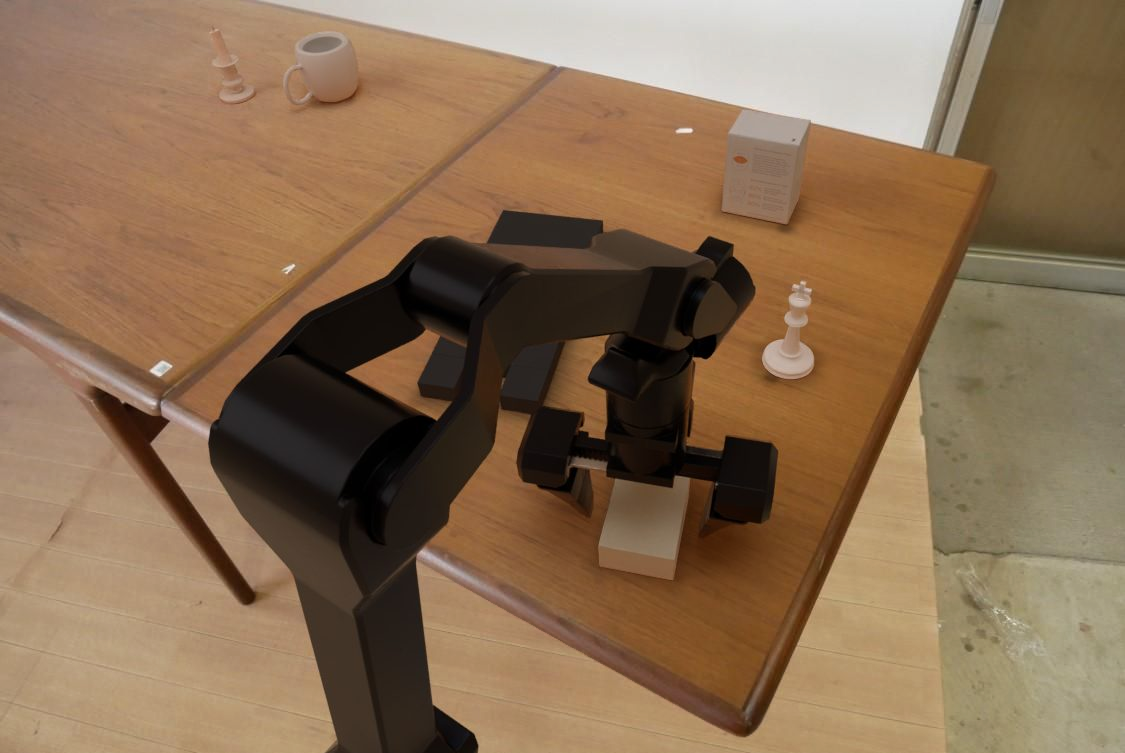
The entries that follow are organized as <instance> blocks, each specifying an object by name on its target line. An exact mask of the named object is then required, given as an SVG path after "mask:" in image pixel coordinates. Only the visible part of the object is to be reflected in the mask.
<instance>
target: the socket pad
mask: <svg viewBox="0 0 1125 753" xmlns="http://www.w3.org/2000/svg"><path fill="white" fill-rule="evenodd" d="M602 233H604V220H602V219H594V218H584V217H575V216H574V217H573V216H567V215H566V216H565V215H554V214H545V213H536V212H528V211H527V212H526V211H517V210H509V209H503V210H502V211H501V213H500V215H499V217H498V219H497V222H496V223H495V225H494V227H493V229H492V231H491V233H490V235H489V237H488V239H487V241H486V243H488V244H505V245H522V246H539V247H556V248H574V249H586V248H589V247H590V244H591V240H592V238H593V237H594V236H596V235H598V234H602ZM565 344H566V341H562V342H555V343H548V344H541V345H534V346H527V347H524V348H523V349H522V351H521V352H520V353H519V354H518V356H517V357H516V358H515V359H514V361H513V362H512V363H511V364H510V366H509V367H508V368H507V369H506V371H505V372H504V374H503V378H505V379H504V381H503V383H502V386H501V395H500V403H499V406H500V409H501V410H506V411H511V412H517V413H518V412H520V413H523V414H529V415H531V414H532V412H533V411H534V410H536V409H537V408H538V407H540V406H544V403H545V400H546V398H547V394H548V392H549V389H550V387H551V384H552V381H553V378H554V375H555V373H556V370H557V366H558V364H559V361H560V358H561V355H562V352H563V349H564V347H565ZM465 354H466V347H463V346H461V345H459V344H457V343H455V342H453V341H450V340H448V339H446V338H444V337H442V336H440V335H439V338H438V340H437V342H436V344H435V345H434V347H433V350H432V352H431V354H430V356H429V357H428V360H427V362H426V364H425V366H424V368H423V369H422V372H421V374H420V376H419V377H418V380H417V387H418V390H419V394H420V397H424V398H430V399H435V400H443V401H450V402H452V401H453V400H454V399H455V398H456V397H457V395H458V394H459V392H460V387H461V381H462V374H463V367H464V361H465Z"/></svg>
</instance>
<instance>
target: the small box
mask: <svg viewBox="0 0 1125 753" xmlns="http://www.w3.org/2000/svg"><path fill="white" fill-rule="evenodd" d="M811 124H812V121H811V119H806V118H800V117H794V116H788V115H781V114H776V113H768V112H763V111H757V110H751V109H744V108H742V110H741V111H740V113H739V114H738V116H737V118H736V119H735V121H734V122H733V124H732V126H731V127H730V129H729V131H728V132H727V137H726V138H727V139H726V148H725V149H726V151H725V152H726V153H725V160H724V161H725V162H724V175H723V187H722V188H723V189H722V200H721V212H724V213H728V214H734V215H737V216H738V215H739V216H743V217H747V218H753V219H758V220H762V221H768V222H772V223H777V224H781V225H788V224H789V222H790V220H791V217H792V216H793V213H794V210H795V208H796V206H797V204H798V201H799V199H800V195H801V189H802V183H803V177H804V169H805V163H806V158H807V151H808V150H807V149H808V145H809V137H810V130H811Z"/></svg>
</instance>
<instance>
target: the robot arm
mask: <svg viewBox="0 0 1125 753" xmlns="http://www.w3.org/2000/svg"><path fill="white" fill-rule="evenodd" d="M734 249H735V244H734V243H732V242H729V241H726V240H723V239H720V238H717V237H713V236H712V235H708V236H706V238H705V239H704V240H703V241H702V243H701V244H700V246H699V247H698V248H697V249H695V250H693V251H689V250H686V249H684V248H680V247H678V246H674V245H671V244H669V243H666V242H664V241H660V240H657V239H655V238H652V237H649V236H646V235H643V234H641V233H637V232H636V231H632V230H630V229H627V228H618V229H614V230H610V231H606V232H603V233H602V234H598V235H596V236H594V237H593V238H592V240H591V244H590V247H589V248H586V249H574V248H556V247H539V246H522V245H505V244H488V243H487V242H485V243H484V242H471V241H468V240H465V239H463V238H460V237H457V236H454V235H445V236H444V235H443V236H441V237H439V236H437V235H433V236H429V237H425V238H423V239H422V240H421V241H420V242H418V243H417V244H415V245H414V246H413V247H412V248H411V249H410V250H409V251H408V252H407V253H406V254H405V256H403V258H402V259H401V260H400V261H399V262H398V263H397V264H396V265H395V266H394V268H392V269H391V271H389V272H388V274H386V275H384V276H383V277H381V278H379V279H377V280H375V281H373V282H370V283H368V284H366V285H364V286H362V287H360V288H357V289H355V290H353V291H351V292H349V293H346V294H344V295H342V296H340V297H338V298H336V299H333V300H332V301H330V302H329V301H328V302H327V303H324V304H322V305H321V306H319V307H316V308H313V309H312V310H310V311H309V312H308V313H305V314H304V315H303V316H301V318H300V319H299V320H298V321H296V323H294V325H293V326H292V327H291V328H290V329H288V331H287V332H286V333H285V334H284V335H283V336H282V337H281V338H280V339H279V340H278V341H277V342H276V343H275V344H274V345H273V347H271V348H270V350H269V351H267V353H266V354H264V355H263V357H262V358H261V359H260V360H259V361H258V362H257V363H255V365H254V366H253V367H252V368H251V369H250V370H249V371H248V372H247V373H246V374H245V376H243V377H242V378H241V380H239V382H237V383H236V385H235V386H234V387H233V389H232V390H231V391H230V393H229V394H228V396H227V397H226V398H225V399H224V401H223V404H222V407H221V410H220V413H219V415H218V418H217V419H215V420H214V421H213V422H212V423H211V425H210V427H209V434H208V441H207V446H208V455H209V463H210V465H211V467H212V470H213V473H214V475H216V477H217V479H218V480H219V482H220V484H221V485H222V487H223V488H224V490H225V492H226V493H227V495H228V497H229V498H230V499H231V501H232V503H233V504H234V506H235V508H236V509H237V511H238V513H239V514H240V515H241V517H242V518H243V519H244V520H245V522H246V523H247V524H248V525H249V526H250V527H251V528H252V530H254V531H255V533H256V534H257V535H258V536H259V537H260V538H261V539H262V540H263V542H265V544H266V545H267V546H268V547H269V548H270V550H271V551H272V552H273V553H274V554H275V555H276V556H277V557H278V559H280V560H281V562H282V563H283V564H284V565H285V567H287V568H288V570H289V572H290V573H291V575H292V577H293V580H294V583H295V587H296V590H297V594H298V599H299V602H300V606H301V609H302V613H303V617H304V621H305V624H306V628H307V632H308V635H309V640H310V643H311V647H312V651H313V655H314V658H315V662H316V665H317V670H318V674H319V677H320V681H321V685H322V688H323V692H324V696H325V699H326V703H327V707H328V711H329V715H330V718H331V722H332V725H333V730H334V733H335V738H336V739H335V741H334V742H333V743H332V744H331V745H330V746H329V747H328V748H327V749H326V751H325V752H324V753H479V746H480V745H479V742H478V740H477V737H476V734H475V733H474V732H473V731H472V730H471V729H468V728H467V727H465V725H463V724H461V723H460V722H459V721H457V720H456V719H454V718H453V717H452V716H450V715H449V714H447V713H446V712H444V711H443V710H442V709H440V708H439V707H438V706H436V705H434V703H433V694H432V685H431V678H430V668H429V662H428V653H427V645H426V634H425V626H424V618H423V610H422V603H421V593H420V586H419V584H420V583H419V576H418V568H417V556H418V555H419V553H420V552H421V551H422V550H423V549H424V548H426V546H427V545H428V544H429V543H430V542H431V541H432V540H433V539H434V538H435V537H436V536H437V535H438V534H439V533H440V532H441V531H442V530H443V529H444V528H445V527H446V526H447V524H448V523H449V521H450V512H451V505H452V503H453V502H454V501H455V500H456V499H457V497H458V496H459V494H460V493H461V492H462V491H463V489H464V488H465V487H466V485H467V484H468V482H469V481H470V480H471V479H472V477H473V476H474V475H475V473H476V472H477V471H478V469H479V468H480V467H481V466H482V465H483V462H484V461H485V460H486V459H487V458H488V456H489V455H490V453H491V452H492V450H493V447H494V446H495V443H496V435H497V428H498V418H499V410H500V395H501V389H502V386H503V378H504V377H503V374H504V372H505V371H506V369H507V368H508V367H509V366H510V364H511V363H512V362H513V361H514V359H515V358H516V357H517V356H518V354H519V353H520V352H521V351H522V349H523V348H524V347H527V346H534V345H541V344H548V343H555V342H562V341H565V342H569V341H577V340H583V339H590V338H591V339H592V338H597V337H598V338H599V337H603V336H608V337H607V338H606V340H605V342H604V347H603V349H604V353H603V354H602V355H601V356H600V357H599V359H598V360H597V361H596V362H595V363H594V364H593V365H592V367H591V369H590V372H589V374H588V375H587V382H588V383H589V384H590V385H592V386H594V387H596V388H599V389H602V390H604V391H605V408H606V411H605V412H606V414H605V415H606V425H605V426H606V427H605V429H604V438H597V437H592V436H590V434H589V433H590V432H589V431H585V430H580V429H581V428H583V427H584V425H585V423H586V422H585V421H586V419H585V416H586V415H585V411H579V410H573V409H566V408H562V407H561V408H559V407H554V406H548V405H543V406H540V407H538V408H537V409H536V410H534V411H533V412H532V414H530V416H529V419H528V422H527V424H526V428H525V430H524V433H523V435H522V439H521V441H520V444H519V446H518V449H517V452H516V459H515V460H516V461H515V463H516V469H517V470H516V471H517V476H518V477H519V478H520V480H521V481H522V482H523V483H526V484H530V485H531V484H532V485H535V486H536V487H537V489H539V490H540V491H546V492H548V493H550V494H552V495H553V496H554V497H556V498H558V499H560V500H561V501H563V502H564V503H566V504H567V505H569V506H570V507H571V508H573V509H574V510H575V511H577V512H578V513H580V514H581V515H582V516H583V517H585V518H587V519H591V518H592V516H593V513H594V505H595V504H594V503H595V497H594V496H595V495H594V488H593V483H592V482H593V481H592V477H591V471H594V472H600V473H604V474H605V477H606V478H610V479H614V480H615V479H621V480H626V481H632V482H638V483H644V484H650V485H655V486H661V487H667V488H673V485H674V480H675V476H681V477H687V478H690V479H693V480H694V479H695V480H701V481H707V482H711V484H710V487H709V490H708V492H707V496H706V499H705V502H704V506H703V509H702V511H701V515H700V519H699V520H700V521H699V527H698V532H697V538H698V539H701V540H703V539H705V538H707V537H709V536H711V535H712V534H714V533H715V532H717V531H720V530H723V529H726V528H729V527H731V526H735V525H737V526H746V525H748V524H749V523H751V524H757V525H762V524H763V523H766V522H767V521H769V520H770V518H771V513H772V508H773V503H774V496H775V487H776V478H777V477H776V476H777V469H778V468H777V467H778V459H779V450H778V448H777V447H776V446H775V444H774V443H773V442H772V441H771V440H766V439H761V438H760V439H759V438H755V437H754V438H753V437H747V436H741V435H740V436H739V435H734V434H725V437H724V444H723V448H722V449H720V450H719V449H713V448H706V447H699V446H694V445H687V441H688V438H691V434H692V428H693V423H694V422H693V421H694V411H695V408H694V407H695V401H694V400H693V399H694V398H693V390H694V382H695V375H696V374H695V372H696V367H697V366H696V364H697V363H696V361H695V360H694V358H695V359H697V358H698V359H702V360H709V359H710V358H711V357H712V356H713V354H714V353H716V351H717V349H718V348H719V347H720V345H721V344H722V342H723V341H724V340H725V339H726V338H727V336H728V334H729V333H730V332H731V331H732V329H733V328H734V327H735V325H736V324H737V323H738V322H739V320H740V319H741V317H742V316H743V315H744V313H745V312H746V311H747V310H748V308H749V306H750V305H751V304H752V302H754V299H755V296H756V290H757V287H756V285H755V284H754V280H753V278H752V276H751V274H750V272H749V271H748V269H747V268H746V266H745V265H744V264H743V263H742V262H741V261H739V259H737V257H735V256H734ZM426 330H427V331H429V332H431V333H433V334H436V335H437V336H439V337H440V336H442V337H444V338H446V339H448V340H450V341H453V342H455V343H457V344H459V345H461V346H463V347H466V354H465V361H464V367H463V374H462V381H461V387H460V392H459V394H458V395H457V397H456V398H455V399H454V400H453V401H451V402H450V404H449V405H448V406H447V408H446V409H445V410H444V411H443V412H442V413H441V414H440V416H439V418H438V419H435V418H434V417H431V416H430V415H428V414H426V413H424V412H422V411H420V410H418V409H416V408H414V407H412V406H410V405H408V404H406V403H405V402H402V401H401V400H399V399H397V398H396V397H393V396H391V395H389V394H388V393H385V392H383V391H381V390H380V389H378V388H376V387H374V386H372V385H370V384H368V383H366V382H364V381H362V380H360V379H358V378H357V377H354V376H353V375H351V374H349V373H348V372H350V371H352V370H354V369H356V368H358V367H361V366H362V365H365V364H366V363H367V364H368V363H369V362H371V361H373V360H375V359H377V358H379V357H382V356H384V355H386V354H388V353H390V352H392V351H394V350H396V349H398V348H400V347H402V346H404V345H407V344H409V343H411V342H413V341H415V340H417V339H418V338H419V337H420V336H422V335H423V334H424V333H425V332H426Z"/></svg>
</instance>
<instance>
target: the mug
mask: <svg viewBox="0 0 1125 753" xmlns="http://www.w3.org/2000/svg"><path fill="white" fill-rule="evenodd" d="M293 53H294V60H295V65H291V66H290V67H289V68H288V69H286V70H285V73H284V75H283V80H282V88H283V93H284V95H285V97H286V99H287V101H289V102H290V103H291V104H292V105H295V106H303V105H305V104H307V103H309V101H310V100H311V99H312V98H315V99H317V100H318V101H320V102H323V103H336V102H340V101H344V100H346V99H348V98H350V97H352V96H353V94H354V93H355V92H356V90H357V88H358V85H359V75H360V72H359V71H360V70H359V63H358V59H357V54H356V51H355V48H354V44H353V42H352V41H351V40H350V38H349V37H348V35H346V33H344V32H341V31H335V30H324V31H318V32H313V33H310V34H308V35H306V36H304V37H302V38H300V39H299V40H298V41H297V42H296V43H295V46H294V51H293ZM296 71H298V75H299V77H300V79H301V81H302V83H303V85H304V86H305V88H306V90H307V91H308V92H307V94H306V95H305V96H304V97H303V98H301V99H296V98H294V97H293V96H292V94H291V92H290V88H289V81H290V77H291V75H292V74H293V73H294V72H296Z"/></svg>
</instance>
